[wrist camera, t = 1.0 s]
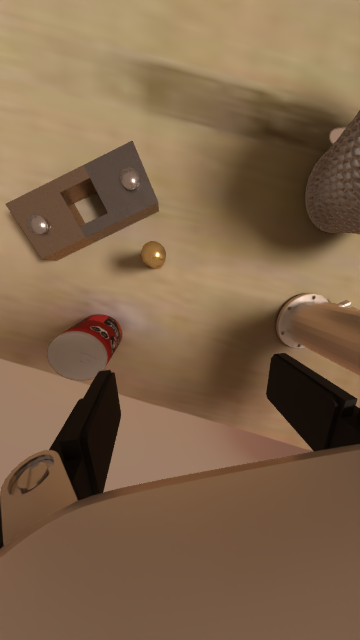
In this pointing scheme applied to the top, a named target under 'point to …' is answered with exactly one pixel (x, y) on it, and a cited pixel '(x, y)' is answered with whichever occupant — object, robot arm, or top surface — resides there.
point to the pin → (153, 254)
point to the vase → (337, 185)
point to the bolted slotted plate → (60, 195)
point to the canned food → (85, 347)
